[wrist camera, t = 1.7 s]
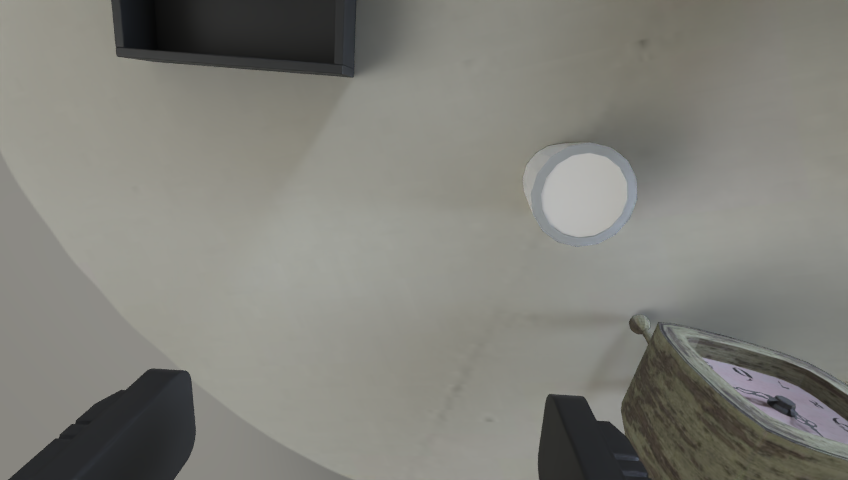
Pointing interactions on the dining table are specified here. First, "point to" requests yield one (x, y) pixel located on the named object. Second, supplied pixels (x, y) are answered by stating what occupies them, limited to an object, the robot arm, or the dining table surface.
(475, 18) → the dining table surface
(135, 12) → the bin
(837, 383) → the tabletop clock
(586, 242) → the shot glass
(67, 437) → the robot arm
